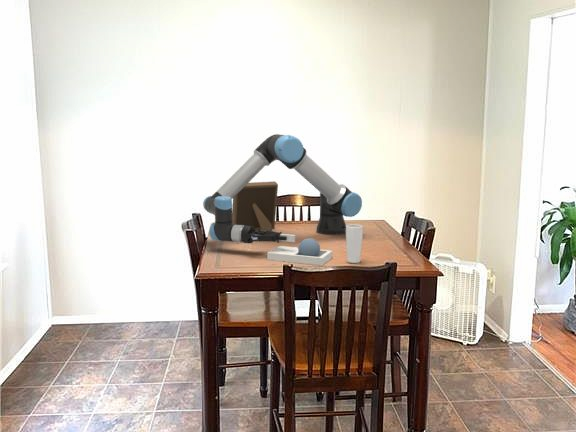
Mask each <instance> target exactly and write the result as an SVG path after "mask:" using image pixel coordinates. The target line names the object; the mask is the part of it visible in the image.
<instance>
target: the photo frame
mask: <svg viewBox="0 0 576 432" xmlns="http://www.w3.org/2000/svg"><path fill="white" fill-rule="evenodd" d="M278 188H279V185H278V183H277V181H259V182H258V181H257V182H249V183H248V184H247V185H246V186H245V187H244V188H243V189H242V190H241V191H240V192H239V193H238V194H237V195H236V196H235V197H234V198H233V199H232V224H233V225H244V226H253V227H254V229H255V231H257V230H261V231H264V230H268V231H273V230H274V229H275V225H276V214H277V200H278Z"/></svg>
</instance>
